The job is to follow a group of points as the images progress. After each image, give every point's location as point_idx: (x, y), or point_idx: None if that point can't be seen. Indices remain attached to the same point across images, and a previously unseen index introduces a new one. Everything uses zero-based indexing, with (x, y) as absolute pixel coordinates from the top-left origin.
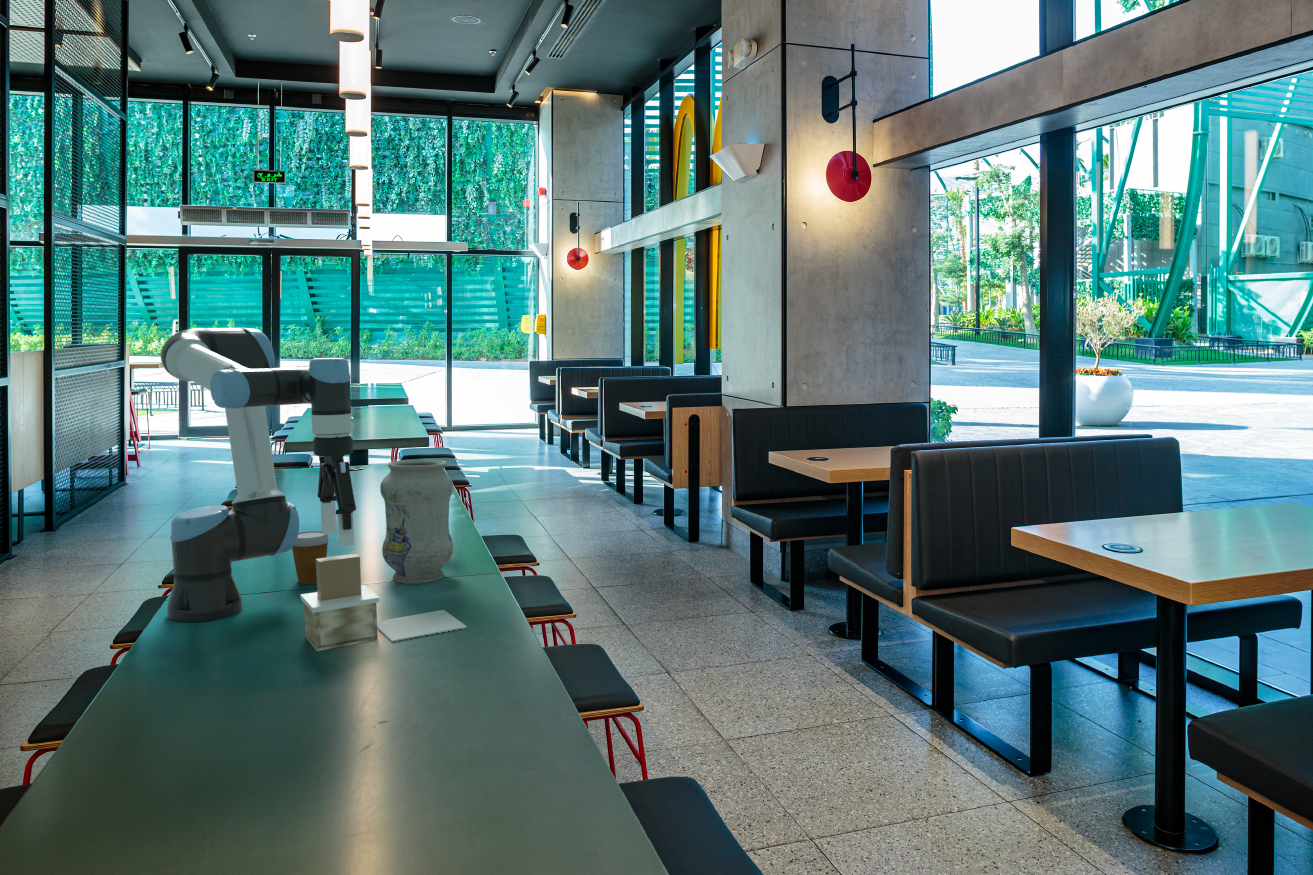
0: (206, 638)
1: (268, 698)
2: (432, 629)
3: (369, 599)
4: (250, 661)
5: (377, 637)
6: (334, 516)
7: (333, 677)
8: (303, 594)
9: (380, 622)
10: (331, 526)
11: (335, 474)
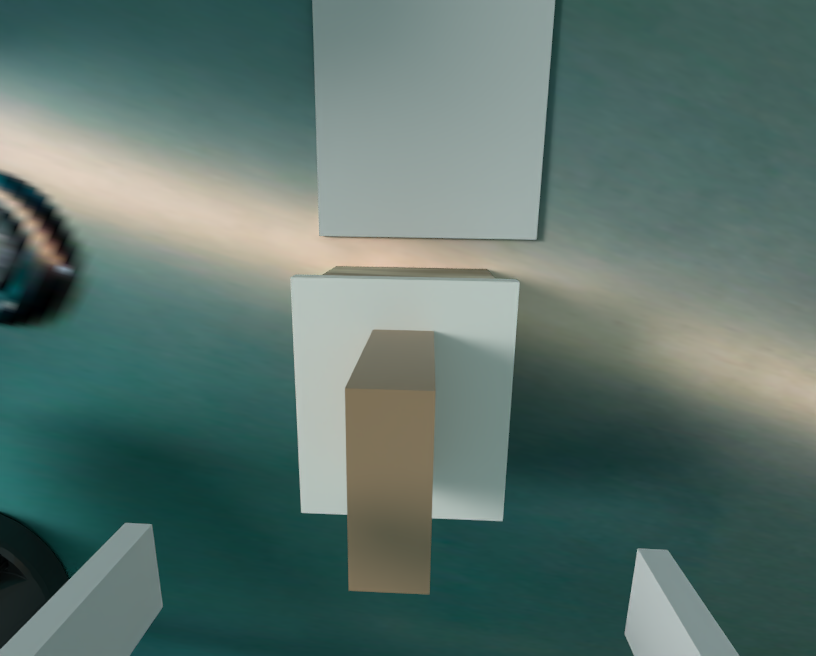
0: (219, 618)
1: (727, 593)
2: (512, 81)
3: (516, 322)
4: (455, 575)
5: (487, 270)
6: (53, 647)
7: (702, 452)
8: (307, 504)
9: (336, 213)
10: (120, 596)
11: None
